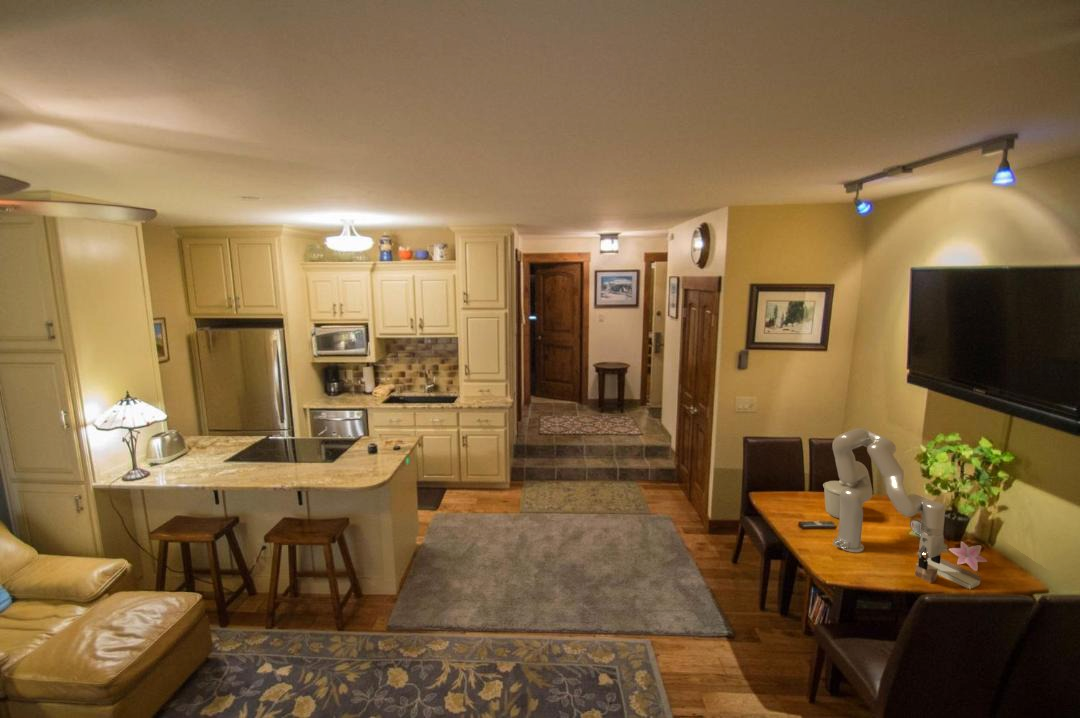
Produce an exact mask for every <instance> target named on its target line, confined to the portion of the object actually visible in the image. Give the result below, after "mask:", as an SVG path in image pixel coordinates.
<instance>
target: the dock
mask: <svg viewBox="0 0 1080 718" xmlns="http://www.w3.org/2000/svg"><path fill="white" fill-rule="evenodd" d="M927 561H928V564H929V565H932V566H934V567H936V568H938V570H937V576H940V575H941V576H940V577H943V578H945V579H947V580H948V581H951V582H954V583H955V584H957V585H959V586H962V587H964V588H966V589H968V588H969V589H968V590H972V589H973V588H974V589H975V587H978V586H980V584H981V580H982V576H981V575H980V574H977V573H975V572H973V571H971V570H968V569H966V568H964V567H962V566H960V565H958V564H955V563H952V562H950V561H948V560H947V559H944V558H940V564H938V563H935V562H933V561H931V557H928V559H927ZM971 588H972V589H971Z"/></svg>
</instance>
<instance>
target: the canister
mask: <svg viewBox="0 0 1080 718" xmlns="http://www.w3.org/2000/svg"><path fill="white" fill-rule="evenodd" d="M822 486H823V488H824V491H823V492H824V506H825V511H826V513H827V514H828V515H829V516H831V517H833V518H835V519H839V520H840V493H841V491H842V490H843V489H845V488H846V487H848V486H850V484H844V483H843V482H842V481H841V480H840V479H839V480H829V481H825V482H824V483H823V484H822Z"/></svg>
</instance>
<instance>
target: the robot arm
mask: <svg viewBox="0 0 1080 718" xmlns="http://www.w3.org/2000/svg"><path fill="white" fill-rule="evenodd" d="M862 446H863V447H865V448H866V451H867V454H868V455H869V457H870V459H871V460H872V462H873V463H874V466H875V467H876V468H877V470H878V471H879V473H880V474H881V476H882V478H883V482H884V487H885V491H886V493H887V496H888V498H889V500H890V502H891V504H892V505H893V506H894V508H895V509H896V511H897V512H898V513H899V514H901V515H902V516H905V517H915V516H916V515H917V514H921V519H922V520H921V531H922V533H921V536H920V538H919V545H918V546H919V547H918V551H917V557H918V562H917V563H918V566H919V567H921V568H923V569H925V570H927V567H928V561H927V559H928V557H931V561H933V562H935V563H938V564H940V558H941V556H942V554H943V552H944V546H945V543H944V542H945V541H944V539H945V538H944V527H945V515H946V506H945V505H944V504H943V503H942V502H939V501H936V500H930V499H927V498H925V497H922V496H921V495H918V494H916V493H915V494H914V493H913V494H912V493H910V494H907V492H906V490H905V489H904V488H905V487H904V477H905V476H904V475H905V474H904V473H905V472H904V470H903V468H902V467H901V466H902V465H900V464H899V462H898V460H897V458H895V456H894V454H895V453H896V452H897V451H896V450H897V447H896V445H895V443H894V442H893V441H892V440H891V439H888V438H886V437H885V436H882V435H880V434H878V433H876V432H872V431H870V430H868V429H865V428H862V427H860V428H859V427H856V428H852V429H850V430H848V431H846V432H843V433H841V434H839V435H836V437H835V438H834V439H833V440H832V446H831V447H832V448H831V449H832V451H833V456H834V461H835V466H836V470H837V475H838V478H839V480H841V481H842V482H843V483H844V484H850V486H848V487H846V488H845V489H843V490H842V491H841V493H840V519H839V521H838V533H837V535H838V536H837V537H835V538H834V540H833V541H832V545H833V546H835V547H838V548H839V549H841V550H842V551H846V552H849V553H862V552H863V551H865V550H864V549H865V545H863V544H862V543H861V542H862V541H861V540H862V533H863V532H862V531H863V522H864V521H863V520H864V510H863V505H864V504H865V503H866V502H868V501H869V500H871V499H872V497H873V488H872V487H873V486H872V483H871V477H870V473H869V471H868V468H867V467H866V466H865V464H863V463H862V462H860V461H857V460H856V456H855V454H854V452H853V450H854V449H858V448H859V447H862Z"/></svg>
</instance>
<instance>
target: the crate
mask: <svg viewBox="0 0 1080 718" xmlns="http://www.w3.org/2000/svg"><path fill="white" fill-rule="evenodd" d="M918 563H919V562H917V563H915V571H914V573H915V574H914V576H915V575H916V576H917V578H918V577H919V578H918V579H920V578H922V579H923V580H922V579H921V580H922V581H924V580H926V581H927V583H928V582H929V583H928V584H933V583H935V582H936V581H937V577H938V574H937V570H938V568H936V567H934V566H932V565H929V564H928V567H927V570H925V569H923V568H921V567H919V566H918ZM916 576H915V577H916ZM926 581H925V582H926Z"/></svg>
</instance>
